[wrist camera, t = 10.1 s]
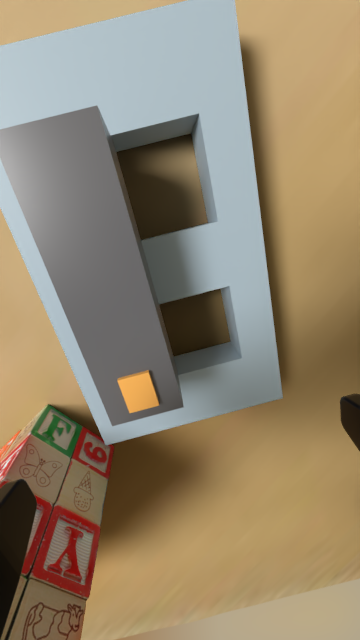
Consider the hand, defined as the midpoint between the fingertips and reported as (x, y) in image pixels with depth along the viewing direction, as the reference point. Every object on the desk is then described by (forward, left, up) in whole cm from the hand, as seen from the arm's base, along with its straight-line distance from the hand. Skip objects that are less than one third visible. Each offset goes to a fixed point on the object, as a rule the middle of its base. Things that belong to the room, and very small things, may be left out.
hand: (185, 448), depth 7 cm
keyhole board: (0, -4, -11) cm, 11 cm away
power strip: (+2, -4, -10) cm, 11 cm away
